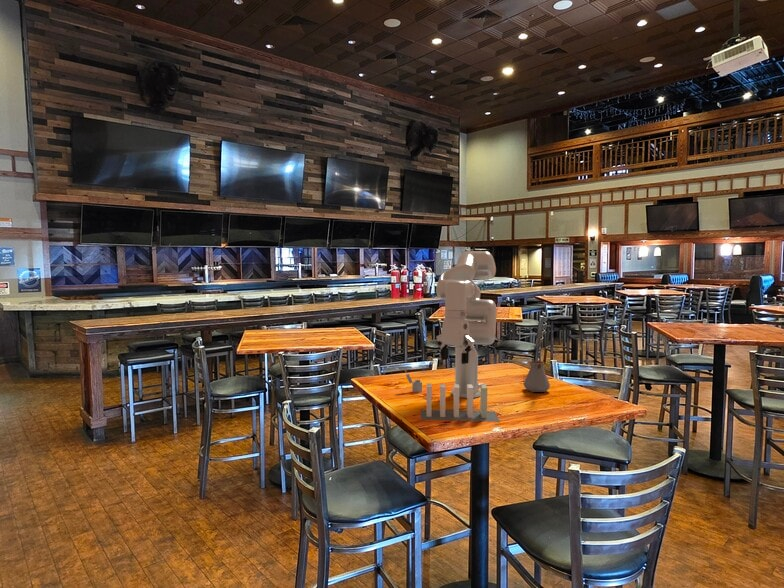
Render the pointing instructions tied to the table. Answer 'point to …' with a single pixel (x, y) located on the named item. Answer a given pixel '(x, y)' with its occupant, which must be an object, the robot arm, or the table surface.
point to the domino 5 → (483, 401)
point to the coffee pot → (536, 378)
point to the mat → (462, 416)
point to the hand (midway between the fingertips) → (454, 361)
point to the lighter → (415, 384)
